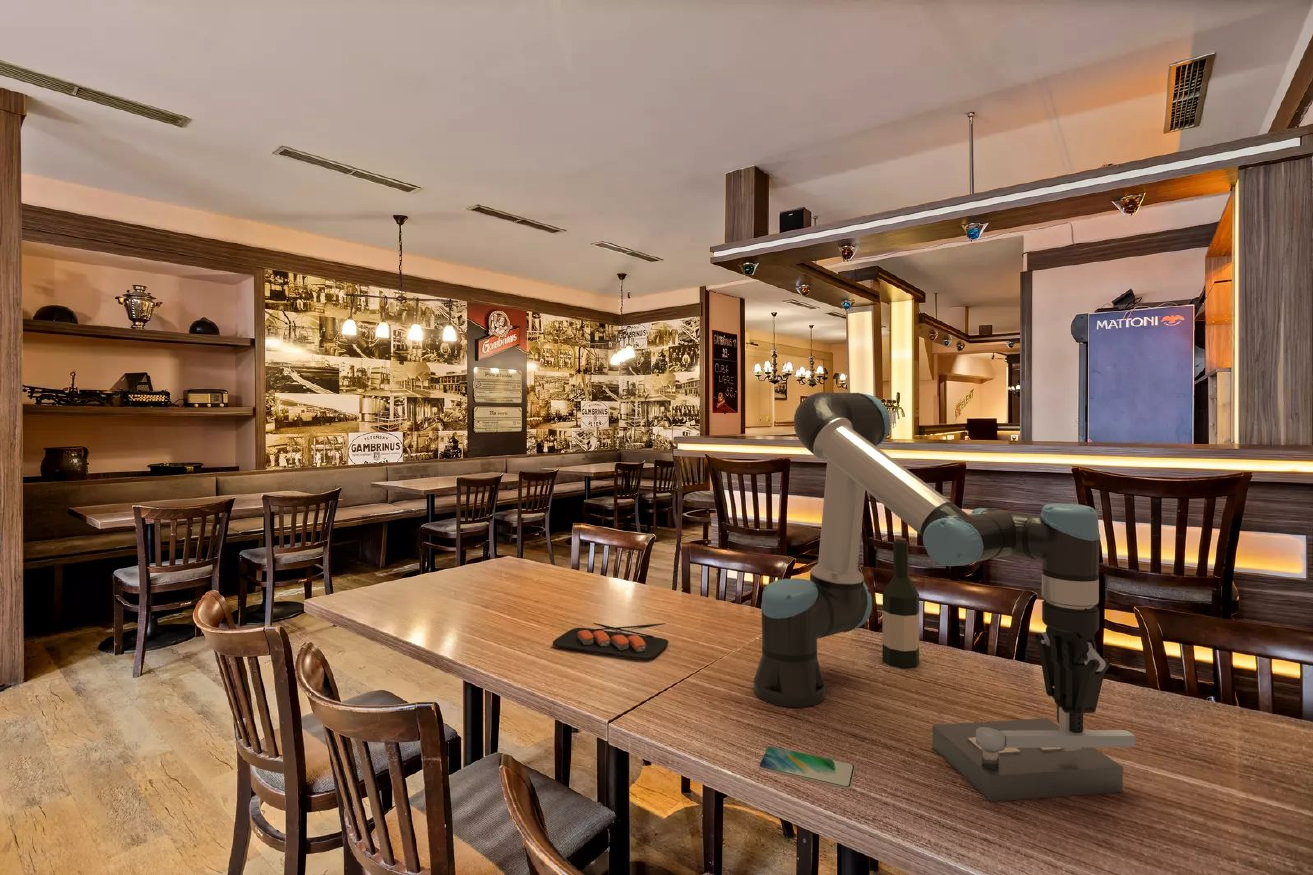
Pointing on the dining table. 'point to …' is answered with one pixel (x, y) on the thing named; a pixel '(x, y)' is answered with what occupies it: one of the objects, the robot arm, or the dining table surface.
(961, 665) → the dining table surface
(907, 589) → the wine bottle
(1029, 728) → the grey base block
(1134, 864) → the dining table surface
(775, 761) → the smartphone
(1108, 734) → the lever
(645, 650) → the sushi plate
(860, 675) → the dining table surface
